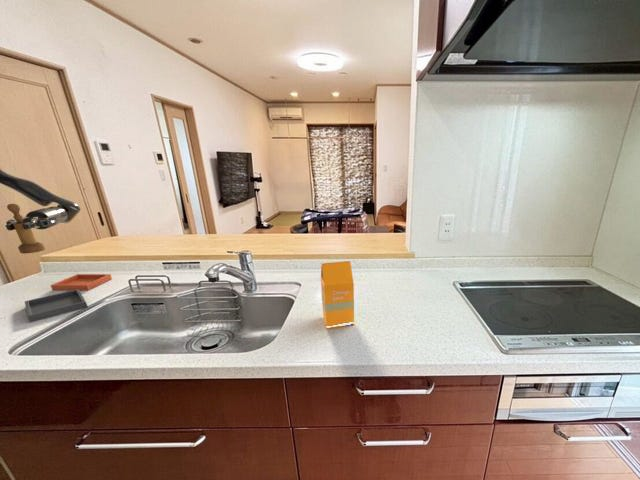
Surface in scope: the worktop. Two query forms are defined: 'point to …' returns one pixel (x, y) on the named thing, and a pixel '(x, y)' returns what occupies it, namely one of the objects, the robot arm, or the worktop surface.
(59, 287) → the terracotta tray
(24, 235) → the mortar and pestle
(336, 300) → the orange juice
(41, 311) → the grey tray
